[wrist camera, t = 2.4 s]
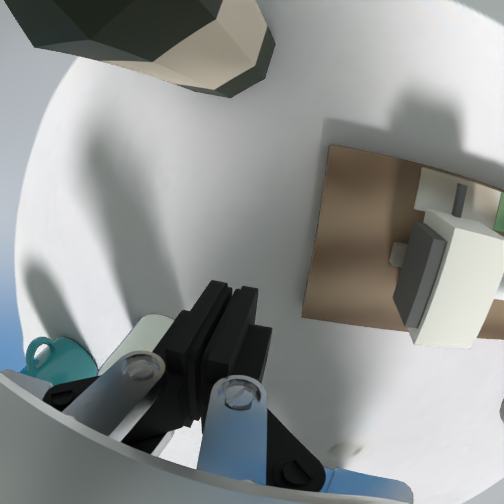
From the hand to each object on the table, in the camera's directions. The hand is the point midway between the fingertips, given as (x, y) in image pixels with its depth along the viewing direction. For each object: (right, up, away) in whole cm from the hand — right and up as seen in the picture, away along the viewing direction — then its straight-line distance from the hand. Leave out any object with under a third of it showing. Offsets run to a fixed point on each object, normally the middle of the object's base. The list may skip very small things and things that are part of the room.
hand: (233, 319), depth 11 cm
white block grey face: (+18, +2, +8) cm, 19 cm away
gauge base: (+22, +2, +11) cm, 24 cm away
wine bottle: (-1, +19, +10) cm, 21 cm away
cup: (-26, -12, +26) cm, 39 cm away
